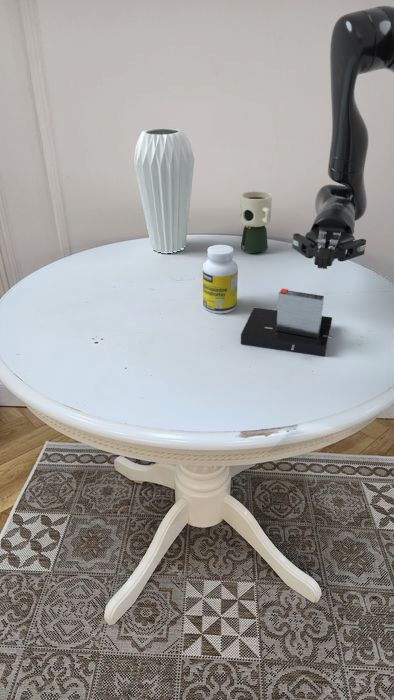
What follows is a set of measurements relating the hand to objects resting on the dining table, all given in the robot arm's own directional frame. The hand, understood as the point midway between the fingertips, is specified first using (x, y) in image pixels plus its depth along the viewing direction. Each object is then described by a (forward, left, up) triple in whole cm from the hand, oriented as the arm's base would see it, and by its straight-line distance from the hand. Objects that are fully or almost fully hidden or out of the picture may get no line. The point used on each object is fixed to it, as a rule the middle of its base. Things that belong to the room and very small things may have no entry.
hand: (322, 263), depth 85 cm
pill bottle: (+19, -5, -13) cm, 23 cm away
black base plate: (+4, +3, -13) cm, 14 cm away
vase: (+39, -31, -13) cm, 51 cm away
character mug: (+19, -35, -13) cm, 42 cm away
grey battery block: (+2, +4, -11) cm, 12 cm away
